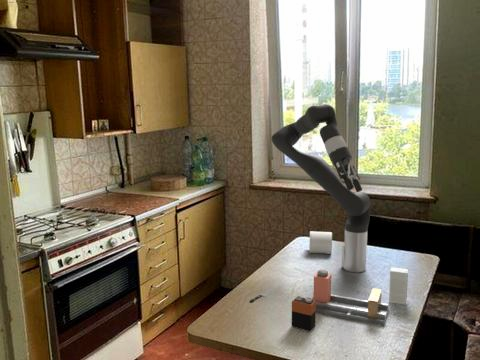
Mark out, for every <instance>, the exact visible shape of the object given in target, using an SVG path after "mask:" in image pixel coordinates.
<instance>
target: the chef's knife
mask: <svg viewBox="0 0 480 360" xmlns="http://www.w3.org/2000/svg"><path fill="white" fill-rule="evenodd" d="M275 289H276V286H272V287H270V288H268V289H267V290H265V291H263V292H262V293H260V294H258V295H257V296H255V297H254V298H252V299H249V303H254V302H255V301H257V300H258V299H260V298H262V297H264V298H268V297H269V296H270V295H271V294H272V293H273V292H275Z"/></svg>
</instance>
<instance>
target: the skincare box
mask: <svg viewBox="0 0 480 360" xmlns="http://www.w3.org/2000/svg"><path fill="white" fill-rule="evenodd" d="M408 279H409V269H408V268H399V267H392V266H391V267H390V272H389V294H388V302H389V303H391V304H399V305H407V302H408V301H407V299H408V282H409V281H408Z"/></svg>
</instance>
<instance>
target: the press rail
mask: <svg viewBox="0 0 480 360" xmlns="http://www.w3.org/2000/svg"><path fill="white" fill-rule="evenodd" d="M382 291H383V290H382V289H380V288H372V289H371V291H370V292H371V293H370V294H369V297H368V300H366V299H362V298H361V299H360V298H355V297H348V296H344V295H343V296H342V295H337V294H332V293H331V300H330V302H329V303H326V302H320V301H316V314H321V315H325V316H330V317H331V316H332V317H336V318H341V319H346V320H351V321H357V322H363V323H367V324H372V325H378V326H385V324H386V320H387V317H388V313H389V309H390V308H389V303H384V302H382ZM313 293H314V291H313ZM313 293H312V294H313ZM311 299H312V300H313V297H311Z"/></svg>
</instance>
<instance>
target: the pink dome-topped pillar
mask: <svg viewBox="0 0 480 360" xmlns="http://www.w3.org/2000/svg"><path fill="white" fill-rule="evenodd" d="M313 292H314V293H312V298H313V300H315V301H320V302H326V303H329V302H330V300H331V294H332V273H331V272H329V271H328V270H326V269H319V270H317V272H316V273H315V274H314V276H313Z"/></svg>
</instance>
